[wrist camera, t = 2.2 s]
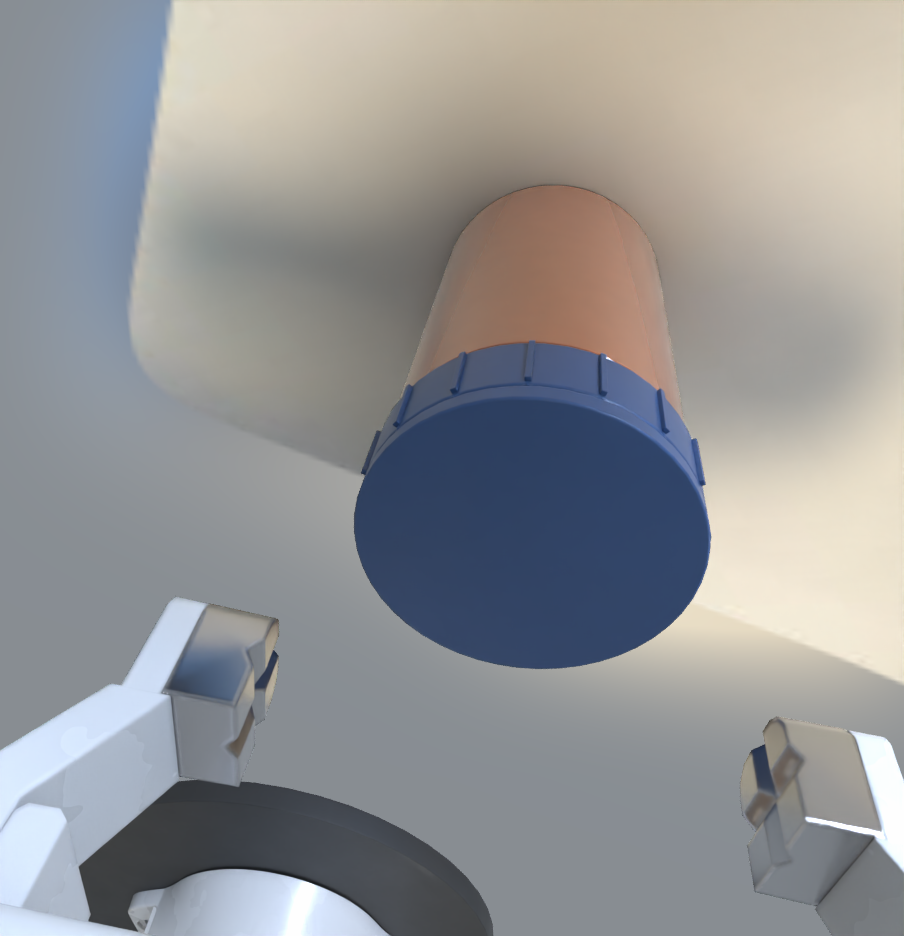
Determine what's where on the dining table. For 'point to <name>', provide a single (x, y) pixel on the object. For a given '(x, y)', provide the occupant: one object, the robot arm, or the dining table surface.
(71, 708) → the robot arm
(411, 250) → the dining table surface
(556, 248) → the jar
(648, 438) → the jar lid
